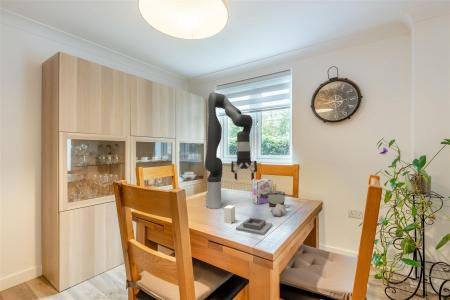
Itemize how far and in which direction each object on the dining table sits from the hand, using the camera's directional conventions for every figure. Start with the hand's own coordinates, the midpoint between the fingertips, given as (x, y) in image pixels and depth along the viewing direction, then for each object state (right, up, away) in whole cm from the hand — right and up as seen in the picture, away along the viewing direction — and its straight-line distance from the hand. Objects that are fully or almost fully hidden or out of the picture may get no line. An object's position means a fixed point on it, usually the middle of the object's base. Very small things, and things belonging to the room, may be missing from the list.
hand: (244, 179), depth 120 cm
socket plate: (+4, -22, -11) cm, 25 cm away
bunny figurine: (+22, -22, +11) cm, 33 cm away
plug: (-8, -22, -2) cm, 24 cm away
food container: (+24, -22, +26) cm, 41 cm away
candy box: (+16, -21, +36) cm, 45 cm away
